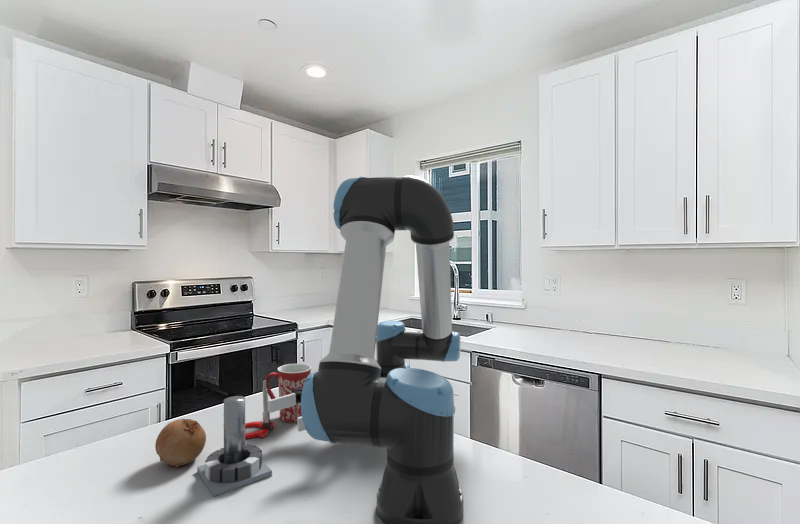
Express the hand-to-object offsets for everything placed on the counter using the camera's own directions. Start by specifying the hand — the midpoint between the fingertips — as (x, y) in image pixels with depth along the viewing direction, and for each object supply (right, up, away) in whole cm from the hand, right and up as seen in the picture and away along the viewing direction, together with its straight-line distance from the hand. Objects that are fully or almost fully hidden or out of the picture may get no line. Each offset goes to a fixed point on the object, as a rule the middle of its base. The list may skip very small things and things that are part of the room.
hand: (282, 415), depth 88 cm
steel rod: (-8, -8, -6) cm, 13 cm away
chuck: (-8, -9, -6) cm, 14 cm away
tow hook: (-12, -9, +13) cm, 20 cm away
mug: (-5, -9, +23) cm, 25 cm away
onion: (-21, -10, -1) cm, 23 cm away
